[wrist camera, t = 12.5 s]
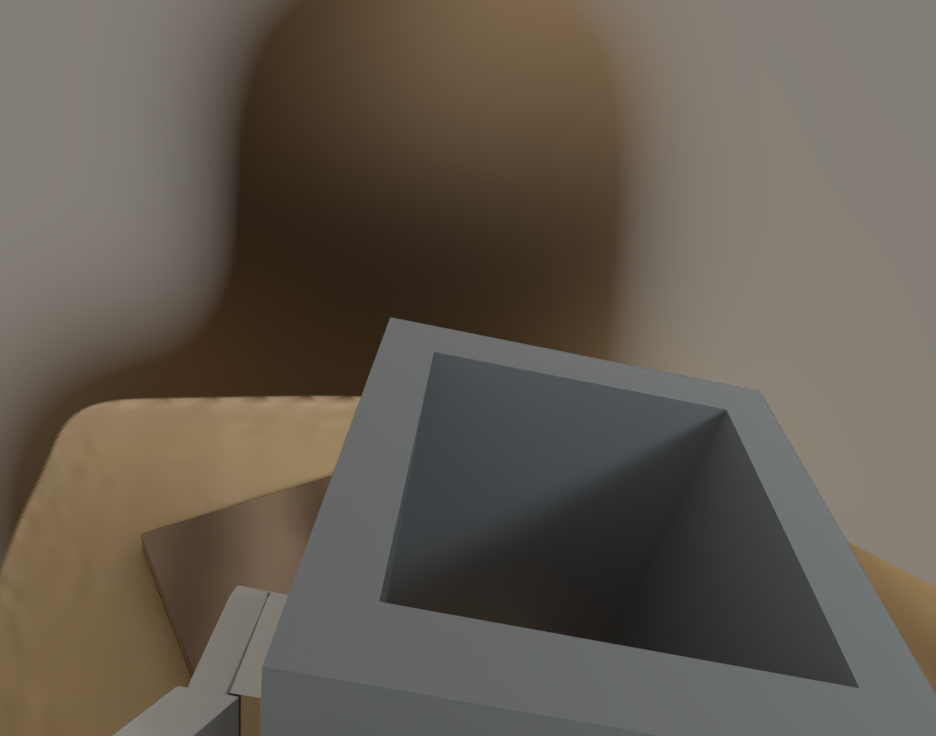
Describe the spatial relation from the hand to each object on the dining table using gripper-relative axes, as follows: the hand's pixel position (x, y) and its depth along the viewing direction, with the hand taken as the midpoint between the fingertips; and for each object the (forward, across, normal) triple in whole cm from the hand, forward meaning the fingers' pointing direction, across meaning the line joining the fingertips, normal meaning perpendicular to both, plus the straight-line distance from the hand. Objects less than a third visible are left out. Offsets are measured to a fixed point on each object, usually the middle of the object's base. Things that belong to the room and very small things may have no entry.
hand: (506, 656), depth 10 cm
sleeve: (-1, 0, +6) cm, 6 cm away
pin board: (+13, +3, +17) cm, 22 cm away
